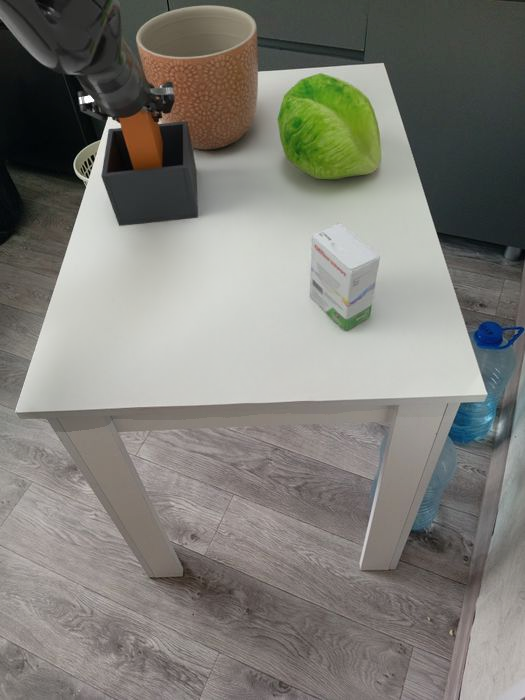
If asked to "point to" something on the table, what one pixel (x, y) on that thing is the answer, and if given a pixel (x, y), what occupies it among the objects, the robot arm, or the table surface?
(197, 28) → the planter
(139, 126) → the block
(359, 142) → the lettuce
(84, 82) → the robot arm
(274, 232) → the table surface
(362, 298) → the ink box
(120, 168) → the dark grey open box
